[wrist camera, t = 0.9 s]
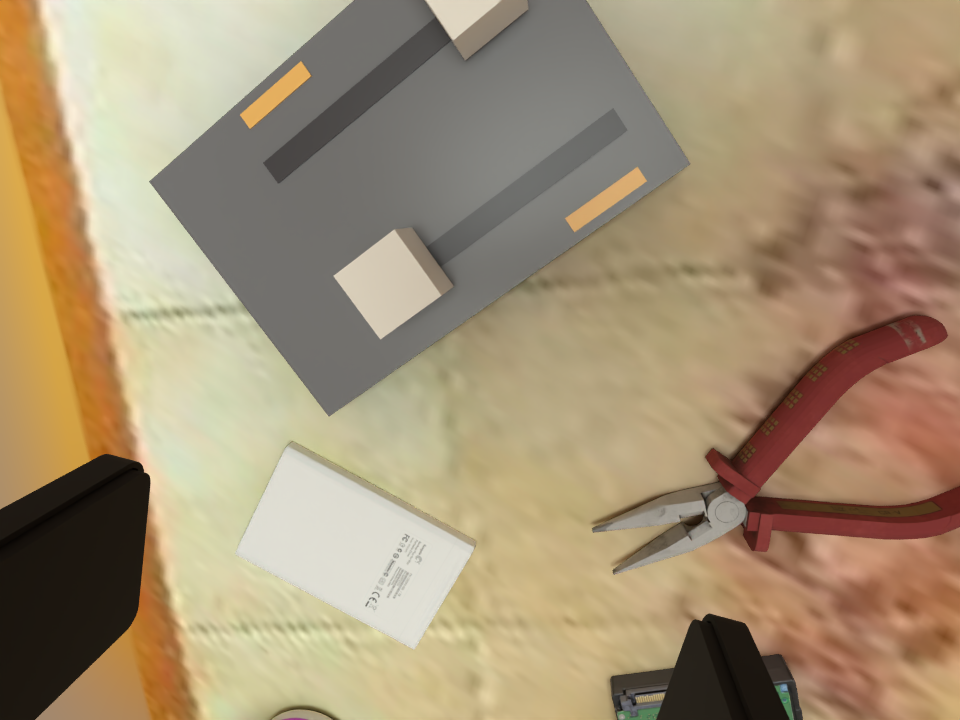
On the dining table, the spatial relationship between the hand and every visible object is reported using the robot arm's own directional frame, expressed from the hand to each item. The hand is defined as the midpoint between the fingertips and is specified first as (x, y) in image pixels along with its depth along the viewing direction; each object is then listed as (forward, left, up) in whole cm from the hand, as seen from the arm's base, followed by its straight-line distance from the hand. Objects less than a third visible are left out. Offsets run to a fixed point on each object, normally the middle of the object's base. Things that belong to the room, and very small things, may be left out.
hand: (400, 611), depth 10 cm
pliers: (-9, +13, -25) cm, 30 cm away
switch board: (-1, -10, -25) cm, 26 cm away
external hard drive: (+15, +5, -26) cm, 30 cm away
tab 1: (+2, -5, -22) cm, 23 cm away
